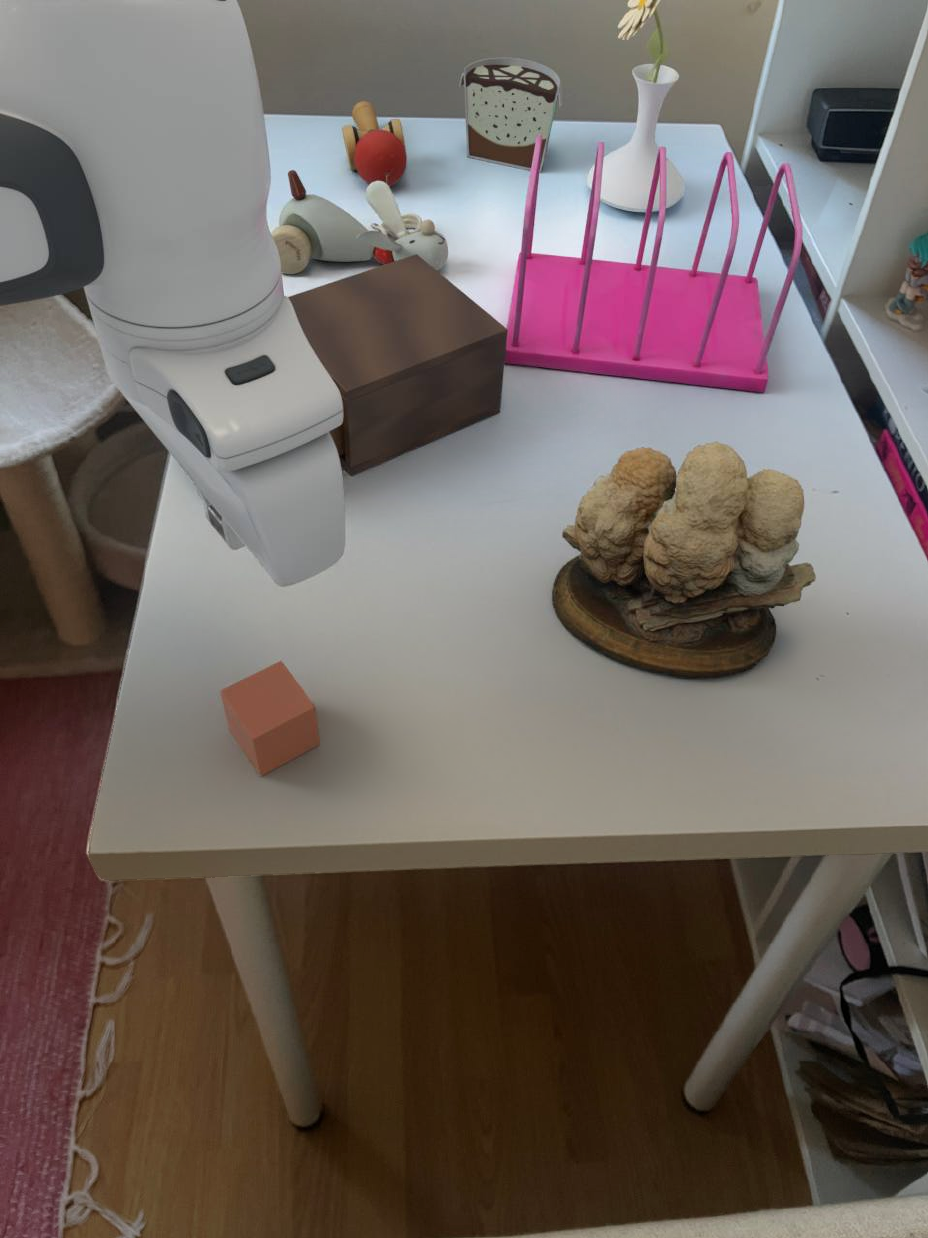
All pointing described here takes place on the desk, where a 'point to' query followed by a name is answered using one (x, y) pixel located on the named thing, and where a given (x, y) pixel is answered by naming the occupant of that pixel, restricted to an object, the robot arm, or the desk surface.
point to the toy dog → (352, 231)
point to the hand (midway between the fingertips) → (232, 531)
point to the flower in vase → (642, 126)
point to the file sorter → (645, 301)
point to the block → (270, 717)
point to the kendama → (375, 146)
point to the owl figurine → (683, 562)
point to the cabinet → (403, 357)
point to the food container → (509, 109)
